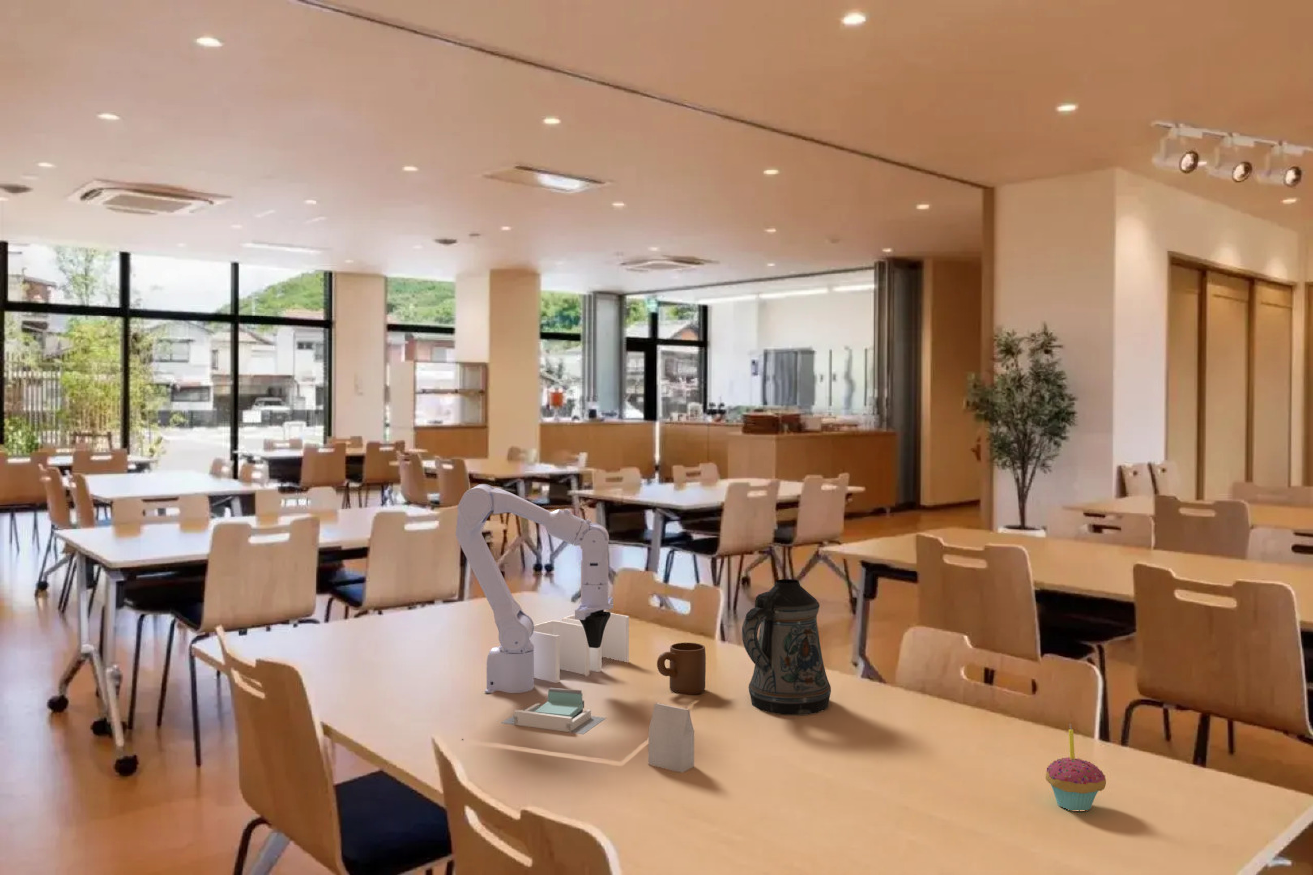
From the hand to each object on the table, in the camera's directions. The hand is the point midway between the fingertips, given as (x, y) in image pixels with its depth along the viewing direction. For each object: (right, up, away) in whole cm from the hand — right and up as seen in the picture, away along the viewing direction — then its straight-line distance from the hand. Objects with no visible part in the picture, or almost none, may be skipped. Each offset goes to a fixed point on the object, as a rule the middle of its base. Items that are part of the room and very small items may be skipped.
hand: (594, 647), depth 214 cm
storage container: (-5, -9, +18) cm, 20 cm away
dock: (-6, -10, -21) cm, 24 cm away
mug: (+18, -10, 0) cm, 20 cm away
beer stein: (+39, -10, -8) cm, 41 cm away
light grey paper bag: (+15, -12, -42) cm, 46 cm away
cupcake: (+77, -12, -58) cm, 97 cm away
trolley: (-5, -10, -20) cm, 23 cm away
